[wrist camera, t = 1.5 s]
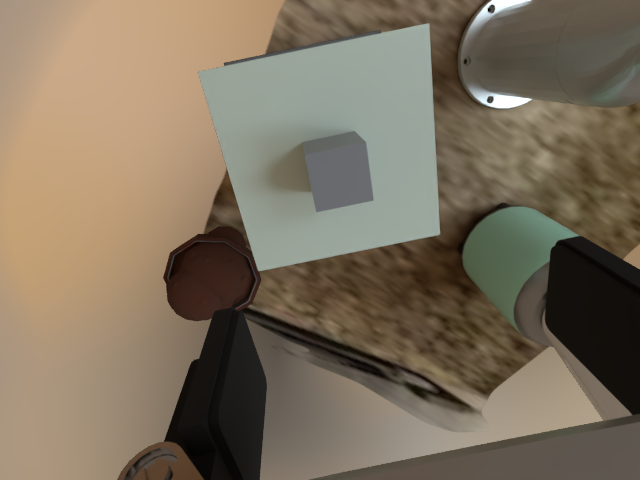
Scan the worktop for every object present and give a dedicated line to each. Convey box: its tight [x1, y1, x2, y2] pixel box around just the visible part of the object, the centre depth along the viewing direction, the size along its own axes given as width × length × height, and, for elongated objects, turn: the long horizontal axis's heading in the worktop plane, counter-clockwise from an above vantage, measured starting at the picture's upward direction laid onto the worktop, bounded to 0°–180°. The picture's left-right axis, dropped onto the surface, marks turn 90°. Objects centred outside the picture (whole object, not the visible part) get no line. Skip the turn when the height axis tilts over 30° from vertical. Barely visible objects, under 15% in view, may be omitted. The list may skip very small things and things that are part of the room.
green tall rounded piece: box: [458, 203, 632, 421], centre depth 38 cm, size 19×13×35 cm
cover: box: [198, 23, 440, 271], centre depth 35 cm, size 16×16×23 cm
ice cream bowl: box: [163, 227, 261, 321], centre depth 44 cm, size 11×11×15 cm
